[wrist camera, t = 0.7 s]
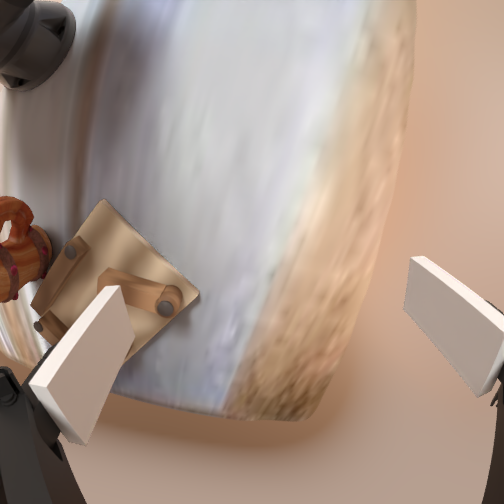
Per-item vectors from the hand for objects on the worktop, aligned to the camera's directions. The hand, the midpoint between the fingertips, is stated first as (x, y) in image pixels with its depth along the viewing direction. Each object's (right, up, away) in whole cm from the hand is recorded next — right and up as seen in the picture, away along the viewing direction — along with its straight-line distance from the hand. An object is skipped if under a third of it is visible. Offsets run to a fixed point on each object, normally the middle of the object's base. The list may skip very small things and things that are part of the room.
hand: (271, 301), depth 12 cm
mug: (-33, +5, +24) cm, 41 cm away
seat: (-23, -5, +28) cm, 36 cm away
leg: (-15, -3, +25) cm, 30 cm away
